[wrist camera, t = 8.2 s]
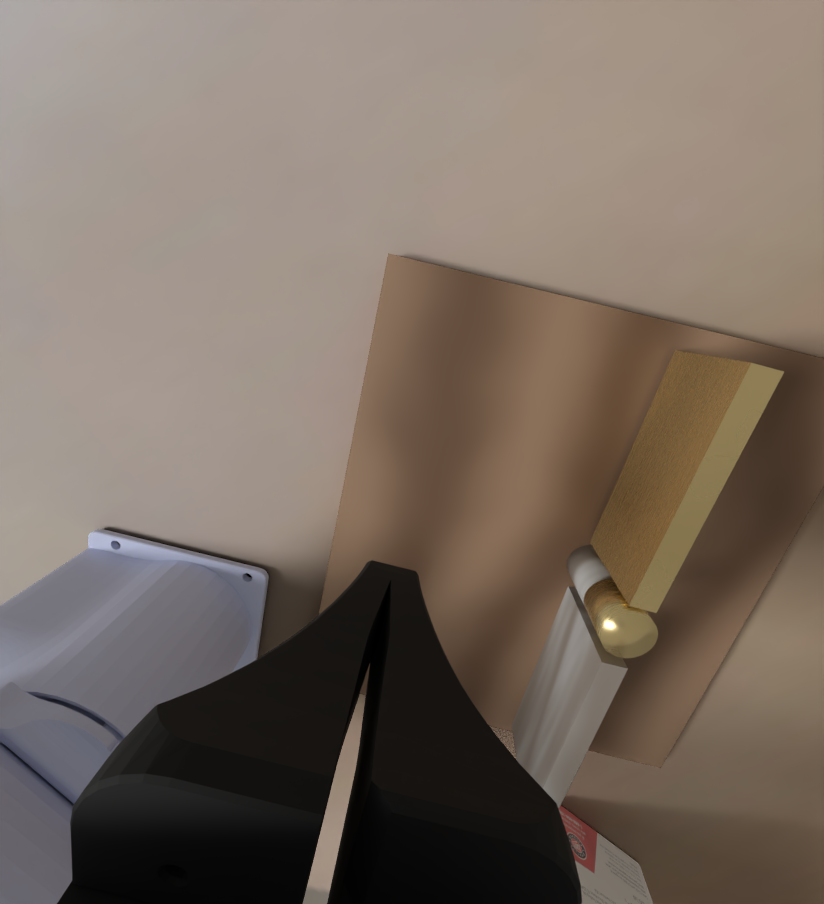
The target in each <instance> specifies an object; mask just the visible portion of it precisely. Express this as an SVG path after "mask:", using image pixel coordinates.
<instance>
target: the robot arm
mask: <svg viewBox="0 0 824 904" xmlns="http://www.w3.org/2000/svg"><path fill="white" fill-rule="evenodd" d="M117 542H119V543H120V545H119V544H118V543H117ZM246 573H248V574H250V575H251V576H252V578H250V577H248V576H247V575H246ZM268 580H269V575H268V573H267V572H266V571H265V570H264V569H262V568H259V567H255V566H250V565H246V564H242V563H238V562H234V561H230V560H226V559H222V558H218V557H214V556H210V555H206V554H202V553H198V552H193V551H189V550H185V549H181V548H177V547H173V546H169V545H165V544H161V543H157V542H153V541H149V540H145V539H141V538H136V537H132V536H128V535H124V534H120V533H116V532H112V531H108V530H104V529H96V530H94V531H93V532H91V533H90V534H89V537H88V549H86V550H85V551H83V552H82V553H80V554H79V555H77V556H75V557H74V558H72V559H71V560H69V561H68V562H66V563H65V564H63V565H62V566H60V567H59V568H57V569H56V570H54V571H52V572H51V573H49V574H48V575H46V576H45V577H43V578H42V579H40V580H39V581H37V582H36V583H34V584H33V585H31V586H29V587H28V588H26V589H25V590H23V591H22V592H20V593H19V594H17V595H16V596H14V597H13V598H11V599H10V600H8V601H7V602H5V603H3V604H2V605H0V904H302V903H303V899H304V896H305V892H306V888H307V884H308V879H309V875H310V871H311V867H312V863H313V859H314V855H315V851H316V847H317V843H318V839H319V835H320V831H321V827H322V823H323V819H324V814H325V810H326V806H327V802H328V798H329V794H330V790H331V786H332V782H333V778H334V774H335V770H336V766H337V762H338V759H339V755H340V752H341V749H342V745H343V742H344V739H345V736H346V733H347V730H348V727H349V724H350V721H351V718H352V715H353V712H354V709H355V706H356V703H357V700H358V697H359V694H360V691H361V688H362V685H363V682H364V679H365V676H366V673H367V670H368V667H369V664H370V667H369V675H368V683H367V690H366V698H365V706H364V714H363V722H362V730H361V738H360V746H359V753H358V759H357V765H356V771H355V776H354V780H353V785H352V790H351V795H350V799H349V804H348V809H347V814H346V818H345V823H344V828H343V832H342V837H341V842H340V846H339V851H338V856H337V861H336V865H335V870H334V875H333V879H332V884H331V889H330V893H329V898H328V903H327V904H582V895H581V884H580V880H579V876H578V871H577V867H576V863H575V858H574V855H573V851H572V848H571V845H570V842H569V838H568V835H567V832H566V829H565V826H564V823H563V821H562V818H561V815H560V812H559V809H558V806H557V803H556V802H555V801H554V800H553V799H552V798H551V797H550V796H549V795H548V794H547V792H546V791H545V790H544V789H543V788H542V787H541V786H540V785H539V784H538V783H537V782H536V781H535V780H534V779H533V778H532V776H531V775H530V774H529V773H528V772H527V771H526V770H525V769H524V768H523V767H522V766H521V765H520V764H519V763H518V761H517V760H516V759H515V758H514V757H513V755H512V754H511V753H510V752H509V751H508V749H507V748H506V747H505V746H504V744H503V743H502V742H501V741H500V740H499V738H498V737H497V736H496V735H495V733H494V732H493V731H492V729H491V728H490V727H489V725H488V724H487V722H486V721H485V720H484V718H483V717H482V715H481V714H480V712H479V711H478V710H477V708H476V707H475V705H474V704H473V703H472V701H471V699H470V698H469V696H468V694H467V693H466V691H465V690H464V688H463V686H462V685H461V683H460V681H459V679H458V678H457V676H456V674H455V672H454V670H453V668H452V667H451V665H450V663H449V661H448V659H447V657H446V655H445V652H444V650H443V648H442V646H441V644H440V641H439V639H438V637H437V634H436V632H435V629H434V627H433V624H432V621H431V619H430V616H429V613H428V610H427V607H426V604H425V601H424V597H423V594H422V590H421V586H420V581H419V575H418V574H417V572H416V571H414V570H410V569H406V568H402V567H398V566H394V565H390V564H385V563H381V562H377V561H373V560H371V561H369V562H367V563H366V565H365V566H364V568H363V569H362V571H361V572H360V573H359V575H358V576H357V577H356V578H355V580H354V581H353V582H352V583H351V584H350V585H349V587H348V588H347V589H346V590H345V591H344V592H343V593H342V594H341V595H340V596H339V597H338V598H337V599H336V600H335V601H334V602H333V603H332V604H331V605H330V606H329V607H327V608H326V609H325V610H324V611H323V612H322V613H321V614H320V615H319V616H317V617H316V618H315V619H314V620H313V621H312V622H310V623H309V624H308V625H307V626H305V627H304V628H303V629H301V630H300V631H299V632H297V633H296V634H295V635H293V636H292V637H291V638H289V639H288V640H286V641H285V642H283V643H282V644H280V645H279V646H277V647H276V648H274V649H273V650H271V651H270V652H268V653H266V654H265V655H263V656H262V657H260V658H258V659H257V657H258V650H259V643H260V636H261V629H262V622H263V615H264V608H265V601H266V594H267V587H268Z"/></svg>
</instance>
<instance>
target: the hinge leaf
mask: <svg viewBox="0 0 824 904" xmlns="http://www.w3.org/2000/svg"><path fill="white" fill-rule="evenodd" d="M783 374H784V371H780V370H776V369H773V368H769V367H765V366H762V365H758V364H754V363H750V362H744V361H738V360H732V359H726V358H719V357H713V356H707V355H701V354H695V353H689V352H683V351H677V350H675V352H674V354H673V356H672V358H671V361H670V363H669V365H668V367H667V370H666V372H665V374H664V376H663V379H662V381H661V383H660V385H659V388H658V390H657V392H656V394H655V397H654V399H653V401H652V404H651V406H650V408H649V410H648V413H647V415H646V417H645V419H644V422H643V424H642V426H641V428H640V431H639V433H638V435H637V437H636V440H635V442H634V444H633V446H632V449H631V451H630V453H629V455H628V458H627V460H626V462H625V464H624V467H623V469H622V471H621V474H620V476H619V478H618V480H617V483H616V485H615V487H614V489H613V492H612V494H611V496H610V498H609V501H608V503H607V505H606V507H605V510H604V512H603V514H602V516H601V519H600V521H599V523H598V525H597V528H596V530H595V532H594V534H593V537H592V539H591V541H590V543H591V545H592V546H593V548H594V550H595V551H596V553H597V554H598V556H599V558H600V559H601V561H602V563H603V564H604V566H605V567H606V569H607V571H608V572H609V574H610V576H611V577H612V579H604V580H601V581H598V582H596V583H594V584H593V585H592V586H590V587H589V588H588V590H587V591H586V593H585V596H584V606H585V609H586V611H587V613H588V615H589V617H590V619H591V622H592V624H593V626H594V628H595V630H596V632H597V634H598V637H599V639H600V641H601V643H602V645H603V647H604V648H605V650H606V651H607V652H609V653H610V654H612V655H614V656H616V657H620V658H634V657H638V656H641V655H643V654H645V653H647V652H648V651H649V650H650V649H652V647H653V646H654V645H655V643H656V641H657V638H658V630H657V627H656V625H655V623H654V622H653V620H652V619H651V617H650V616H649V614H648V613H647V611H650V612H654V613H657V611H658V609H659V607H660V605H661V603H662V602H663V600H664V598H665V596H666V594H667V592H668V590H669V588H670V586H671V585H672V583H673V581H674V579H675V577H676V575H677V573H678V571H679V570H680V568H681V566H682V564H683V562H684V560H685V558H686V556H687V554H688V553H689V551H690V549H691V547H692V545H693V543H694V541H695V539H696V537H697V536H698V534H699V532H700V530H701V528H702V526H703V524H704V522H705V521H706V519H707V517H708V515H709V513H710V511H711V509H712V507H713V505H714V504H715V502H716V500H717V498H718V496H719V494H720V492H721V490H722V489H723V487H724V485H725V483H726V481H727V479H728V477H729V475H730V473H731V472H732V470H733V468H734V466H735V464H736V462H737V460H738V458H739V456H740V455H741V453H742V451H743V449H744V447H745V445H746V443H747V441H748V440H749V438H750V436H751V434H752V432H753V430H754V428H755V426H756V424H757V423H758V421H759V419H760V417H761V415H762V413H763V411H764V409H765V408H766V406H767V404H768V402H769V400H770V398H771V396H772V394H773V392H774V391H775V389H776V387H777V385H778V383H779V381H780V379H781V377H782V375H783ZM646 610H647V611H646Z"/></svg>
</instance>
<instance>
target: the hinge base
mask: <svg viewBox="0 0 824 904" xmlns="http://www.w3.org/2000/svg"><path fill="white" fill-rule="evenodd" d="M675 350H677V351H683V352H689V353H695V354H701V355H707V356H713V357H719V358H726V359H732V360H738V361H744V362H750V363H754V364H758V365H762V366H765V367H769V368H773V369H776V370H780V371H784V374H783V375H782V377H781V379H780V381H779V383H778V385H777V387H776V389H775V391H774V392H773V394H772V396H771V398H770V400H769V402H768V404H767V406H766V408H765V409H764V411H763V413H762V415H761V417H760V419H759V421H758V423H757V424H756V426H755V428H754V430H753V432H752V434H751V436H750V438H749V440H748V441H747V443H746V445H745V447H744V449H743V451H742V453H741V455H740V456H739V458H738V460H737V462H736V464H735V466H734V468H733V470H732V472H731V473H730V475H729V477H728V479H727V481H726V483H725V485H724V487H723V489H722V490H721V492H720V494H719V496H718V498H717V500H716V502H715V504H714V505H713V507H712V509H711V511H710V513H709V515H708V517H707V519H706V521H705V522H704V524H703V526H702V528H701V530H700V532H699V534H698V536H697V537H696V539H695V541H694V543H693V545H692V547H691V549H690V551H689V553H688V554H687V556H686V558H685V560H684V562H683V564H682V566H681V568H680V570H679V571H678V573H677V575H676V577H675V579H674V581H673V583H672V585H671V586H670V588H669V590H668V592H667V594H666V596H665V598H664V600H663V602H662V603H661V605H660V607H659V609H658V611H657V613H654V612H650V611H647V610H646V611H647V613H648V614H649V616H650V617H651V619H652V620H653V622H654V623H655V625H656V627H657V630H658V638H657V641H656V643H655V645H654V646H653V647H652V649H650V650H649V651H648V652H647V653H645V654H643V655H641V656H638V657H634V658H620V657H616V656H614V655H612V654H610V653H609V652H607V651H606V650H605V648H604V647H603V645H602V643H601V641H600V639H599V637H598V634H597V632H596V630H595V628H594V626H593V624H592V622H591V619H590V617H589V615H588V613H587V611H586V609H585V606H584V596H585V593H586V591H587V590H588V588H589V587H590V586H592V585H593V584H594V583H596V582H598V581H601V580H604V579H612V577H611V576H610V574H609V572H608V571H607V569H606V567H605V566H604V564H603V563H602V561H601V559H600V558H599V556H598V554H597V553H596V551H595V550H594V548H593V546H592V545H591V543H590V541H591V539H592V537H593V534H594V532H595V530H596V528H597V525H598V523H599V521H600V519H601V516H602V514H603V512H604V510H605V507H606V505H607V503H608V501H609V498H610V496H611V494H612V492H613V489H614V487H615V485H616V483H617V480H618V478H619V476H620V474H621V471H622V469H623V467H624V464H625V462H626V460H627V458H628V455H629V453H630V451H631V449H632V446H633V444H634V442H635V440H636V437H637V435H638V433H639V431H640V428H641V426H642V424H643V422H644V419H645V417H646V415H647V413H648V410H649V408H650V406H651V404H652V401H653V399H654V397H655V394H656V392H657V390H658V388H659V385H660V383H661V381H662V379H663V376H664V374H665V372H666V370H667V367H668V365H669V363H670V361H671V358H672V356H673V354H674V352H675ZM823 487H824V358H820V357H815V356H811V355H807V354H803V353H799V352H795V351H790V350H786V349H782V348H778V347H774V346H770V345H766V344H761V343H757V342H753V341H749V340H745V339H741V338H737V337H732V336H728V335H724V334H720V333H716V332H712V331H708V330H703V329H699V328H695V327H691V326H687V325H683V324H679V323H674V322H670V321H666V320H662V319H658V318H654V317H650V316H645V315H641V314H637V313H633V312H629V311H625V310H620V309H616V308H612V307H608V306H604V305H600V304H596V303H591V302H587V301H583V300H579V299H575V298H571V297H567V296H562V295H558V294H554V293H550V292H546V291H542V290H538V289H533V288H529V287H525V286H521V285H517V284H513V283H509V282H504V281H500V280H496V279H492V278H488V277H484V276H479V275H475V274H471V273H467V272H463V271H459V270H455V269H450V268H446V267H442V266H438V265H434V264H430V263H426V262H421V261H417V260H413V259H409V258H405V257H401V256H397V255H392V254H388V258H387V263H386V268H385V273H384V278H383V284H382V289H381V294H380V299H379V304H378V309H377V315H376V320H375V325H374V330H373V335H372V341H371V346H370V351H369V356H368V361H367V366H366V372H365V377H364V382H363V387H362V392H361V397H360V403H359V408H358V413H357V418H356V423H355V428H354V434H353V439H352V444H351V449H350V454H349V460H348V465H347V470H346V475H345V480H344V485H343V491H342V496H341V501H340V506H339V511H338V516H337V522H336V527H335V532H334V537H333V542H332V547H331V553H330V558H329V563H328V568H327V573H326V578H325V584H324V589H323V594H322V599H321V604H320V610H319V615H320V614H321V613H322V612H323V611H324V610H325V609H326V608H327V607H329V606H330V605H331V604H332V603H333V602H334V601H335V600H336V599H337V598H338V597H339V596H340V595H341V594H342V593H343V592H344V591H345V590H346V589H347V588H348V587H349V585H350V584H351V583H352V582H353V581H354V580H355V578H356V577H357V576H358V575H359V573H360V572H361V571H362V569H363V568H364V566H365V565H366V563H367V562H369V561H371V560H373V561H377V562H381V563H385V564H390V565H394V566H398V567H402V568H406V569H410V570H414V571H416V572H417V574H418V575H419V581H420V586H421V590H422V594H423V597H424V601H425V604H426V607H427V610H428V613H429V616H430V619H431V621H432V624H433V627H434V629H435V632H436V634H437V637H438V639H439V641H440V644H441V646H442V648H443V650H444V652H445V655H446V657H447V659H448V661H449V663H450V665H451V667H452V668H453V670H454V672H455V674H456V676H457V678H458V679H459V681H460V683H461V685H462V686H463V688H464V690H465V691H466V693H467V694H468V696H469V698H470V699H471V701H472V703H473V704H474V705H475V707H476V708H477V710H478V711H479V712H480V714H481V715H482V717H483V718H484V720H485V721H486V722H487V724H488V725H489V726H492V727H496V728H500V729H505V730H509V731H513V738H514V744H515V751H516V757H517V761H518V763H519V764H520V765H521V766H522V767H523V768H524V769H525V770H526V771H527V772H528V773H529V774H530V775H531V776H532V778H533V779H534V780H535V781H536V782H537V783H538V784H539V785H540V786H541V787H542V788H543V789H544V790H545V791H546V792H547V794H548V795H549V796H550V797H551V798H552V799H553V800H554V801H555V802H556V803H557V806H558V809H559V807H560V805H561V803H562V801H563V799H564V797H565V795H566V793H567V791H568V789H569V787H570V785H571V783H572V781H573V779H574V777H575V775H576V773H577V771H578V769H579V767H580V765H581V763H582V761H583V759H584V757H585V755H586V753H587V751H588V750H590V751H594V752H598V753H602V754H606V755H610V756H614V757H618V758H622V759H626V760H630V761H634V762H638V763H642V764H646V765H650V766H654V767H658V768H661V767H662V765H663V763H664V761H665V760H666V758H667V756H668V754H669V753H670V751H671V749H672V748H673V746H674V744H675V742H676V741H677V739H678V737H679V735H680V734H681V732H682V730H683V729H684V727H685V725H686V723H687V722H688V720H689V718H690V716H691V715H692V713H693V711H694V710H695V708H696V706H697V704H698V703H699V701H700V699H701V697H702V696H703V694H704V692H705V691H706V689H707V687H708V685H709V684H710V682H711V680H712V678H713V677H714V675H715V673H716V671H717V670H718V668H719V666H720V665H721V663H722V661H723V659H724V658H725V656H726V654H727V652H728V651H729V649H730V647H731V646H732V644H733V642H734V640H735V639H736V637H737V635H738V633H739V632H740V630H741V628H742V627H743V625H744V623H745V621H746V620H747V618H748V616H749V614H750V613H751V611H752V609H753V608H754V606H755V604H756V602H757V601H758V599H759V597H760V595H761V594H762V592H763V590H764V589H765V587H766V585H767V583H768V582H769V580H770V578H771V576H772V575H773V573H774V571H775V570H776V568H777V566H778V564H779V563H780V561H781V559H782V557H783V556H784V554H785V552H786V550H787V549H788V547H789V545H790V544H791V542H792V540H793V538H794V537H795V535H796V533H797V531H798V530H799V528H800V526H801V525H802V523H803V521H804V519H805V518H806V516H807V514H808V512H809V511H810V509H811V507H812V506H813V504H814V502H815V500H816V499H817V497H818V495H819V493H820V492H821V490H822V488H823ZM319 615H318V616H319ZM369 667H370V664H369ZM369 667H368V670H367V673H366V676H365V679H364V682H363V685H362V688H361V691H360V694H363V695H366V690H367V683H368V675H369Z"/></svg>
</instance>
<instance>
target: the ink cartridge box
mask: <svg viewBox="0 0 824 904" xmlns="http://www.w3.org/2000/svg"><path fill="white" fill-rule="evenodd" d="M559 812H560V815H561V818H562V821H563V823H564V826H565V829H566V832H567V835H568V838H569V842H570V845H571V848H572V851H573V855H574V858H575V863H576V867H577V871H578V876H579V880H580V884H581V895H582V904H653V902H652V899H651V896H650V893H649V890H648V887H647V885H646V882H645V879H644V876H643V873H642V870H641V867H640V865H639V864H638V863H637V862H636V861H635V860H633V859H632V858H631V857H630V856H628V855H627V854H626V853H624V852H623V851H622V850H620V849H619V848H617V847H616V846H615V845H613V844H612V843H611V842H609V841H608V840H607V839H605V838H604V837H603V836H601V835H600V834H599V833H597V832H596V831H595V830H593V829H592V828H591V827H589V826H588V825H586V824H585V823H584V822H582V821H581V820H580V819H578V818H577V817H576V816H574V815H573V814H572V813H570V812H569V811H568V810H566V809H565V808H564V807H562V806H561V805H560V807H559Z"/></svg>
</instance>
